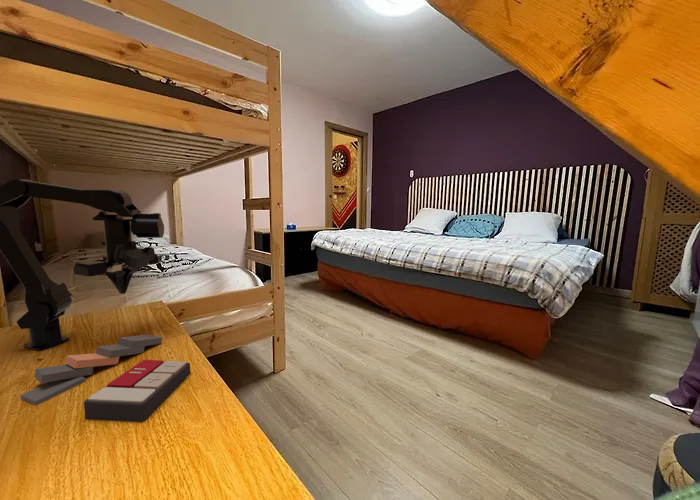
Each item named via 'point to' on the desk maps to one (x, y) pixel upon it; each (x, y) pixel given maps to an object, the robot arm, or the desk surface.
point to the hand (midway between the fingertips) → (122, 293)
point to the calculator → (137, 391)
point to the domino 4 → (118, 350)
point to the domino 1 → (60, 373)
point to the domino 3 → (89, 360)
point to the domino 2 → (51, 390)
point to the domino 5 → (139, 340)
